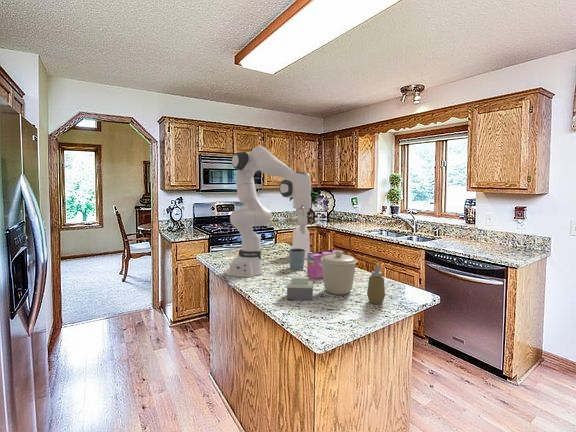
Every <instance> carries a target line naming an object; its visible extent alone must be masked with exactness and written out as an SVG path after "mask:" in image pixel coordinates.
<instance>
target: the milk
mask: <svg viewBox="0 0 576 432" xmlns="http://www.w3.org/2000/svg"><path fill="white" fill-rule="evenodd" d="M310 234H311V233H310V231H308V227H306V226H305V234H301V231H300V224H299V225H297V227H296V228H294V229H293V232H292V248H291V249H297V248H298V249H304V250H305V256H304V260H307V254H308V253H311V238H310V236H311V235H310Z"/></svg>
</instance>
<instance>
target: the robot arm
mask: <svg viewBox="0 0 576 432" xmlns="http://www.w3.org/2000/svg"><path fill="white" fill-rule="evenodd" d="M231 164H232V167H233V169H234V170H236V172H235V185H236V192H237V198H238V200H239V202H240V203H242V204H244V205H245V206H246V208H238V209H235V210H232V212H231V213H230V216H229V220H230V221H229V222H230V224H231V225H232V226H233V227H234V228H236V230H238V232H239V233H240V237H241V248H239V251H238V256H236V257H235V258H234V259H233V260H232V261H231V262H230V264H229V267H228V269H226V270H225V271H224V272H225V275H226V276H233V277H244V278H245V277H246V278H250V277H255V276H259V275H262V274H263V273H264V270H263V266H262V257H263V256H262V249H261V246H262V245H261V241H262V240H261V236H260V234H258V233H257V232H255V231H254V230H253V227H262V226H265V225H268V224H269V223H270V222H271V220H272V213H271V211H270V209H268V208H266V207H265V206H264V205H263V204H262V202H261V201H260V199H259V197H258V194H257V189H256V183H255V180H254V179H255V178H254V176H255V174H256V175H259V174H260V173H263V174H265V175H267V176H272V177H273V176H274V177H280V178H283V179H282V180H281V182H280V184H279V186H278V187H279V192H280V195H281V196H282V197H284V198H287V199H289V198H290V199H291V198H292V208H293V209H295V212H296V214H297V215H296V217H297V221H298V224H299V225H300V231H301V234H305V227H306V226H307V225H308V212H309V210H310V209H312V196H311V194H312V192H313V185H312V181H311V175H310V173H308V172H307V171H299V170H298V171H297V170H296V171H295V170H294V169H293V168H291V167H290V166H289V165H287V164H286V163H284V162H283V161H281V160H279V158H277V157H276V156H275V155H274V154H273V153H272V152H271V151H270V150H268V149H267V148H266V147H264V146H261V145H257V146H255V147H254V148H252V149H251V151H249V152H248V151H247V152H246V151H238V152H235V153H234V154H233V155H232V158H231Z"/></svg>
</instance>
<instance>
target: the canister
mask: <svg viewBox="0 0 576 432" xmlns="http://www.w3.org/2000/svg"><path fill="white" fill-rule="evenodd" d="M342 252H343V251H342V250H339V249H338V251H336V252H335V254H331V255H326V256H324V257H322V258H321V261H322V269H323V277H322V278H323V285H324V289H325V291H326V292H327V293H329V294H331V295H340V296H341V295H347V294H349V293H351V291H352V289H353V285H354V284H353V283H354V279H355V272H356V271H355V270H356V264H357V263H358V260H357V259H356V258H355V257H353V256H351V255H348V254H344V255H343V254H342Z"/></svg>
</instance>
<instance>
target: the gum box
mask: <svg viewBox="0 0 576 432" xmlns="http://www.w3.org/2000/svg"><path fill="white" fill-rule="evenodd" d="M338 250H339V248H334V249H326V250H321V251H315V252H310V253H308V254H307V259H306V262H307V263H306V265H307V267H306V271H307V272H306V275H307V276H306V277H309V278H312V279H314V280H317V279H322V278H323V269H322V261H321V258H322V257H324V256H326V255H331V254H335V252H336V251H338ZM342 254H343V255H345V251H344V250H343V251H342Z"/></svg>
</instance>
